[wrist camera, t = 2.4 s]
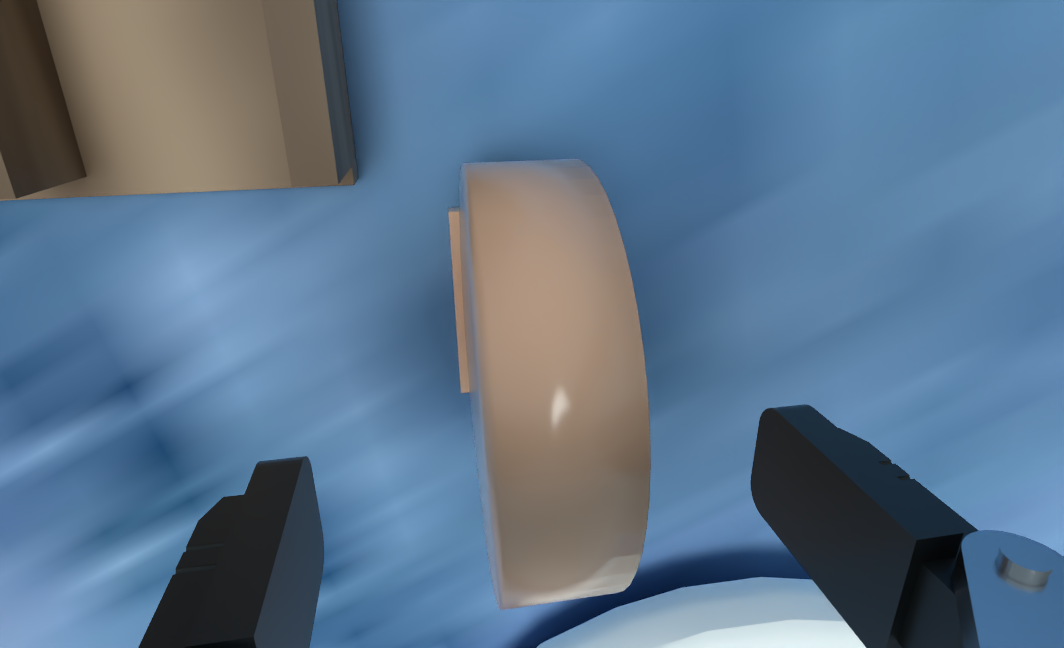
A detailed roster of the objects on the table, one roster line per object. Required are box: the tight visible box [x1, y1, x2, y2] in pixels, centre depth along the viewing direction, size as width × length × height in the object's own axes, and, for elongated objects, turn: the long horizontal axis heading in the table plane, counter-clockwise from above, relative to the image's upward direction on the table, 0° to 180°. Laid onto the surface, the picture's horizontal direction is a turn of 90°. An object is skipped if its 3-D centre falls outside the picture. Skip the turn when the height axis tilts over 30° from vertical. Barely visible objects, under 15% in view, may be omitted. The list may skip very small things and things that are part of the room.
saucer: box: [448, 159, 651, 610], centre depth 15 cm, size 3×10×11 cm, turn 1°
